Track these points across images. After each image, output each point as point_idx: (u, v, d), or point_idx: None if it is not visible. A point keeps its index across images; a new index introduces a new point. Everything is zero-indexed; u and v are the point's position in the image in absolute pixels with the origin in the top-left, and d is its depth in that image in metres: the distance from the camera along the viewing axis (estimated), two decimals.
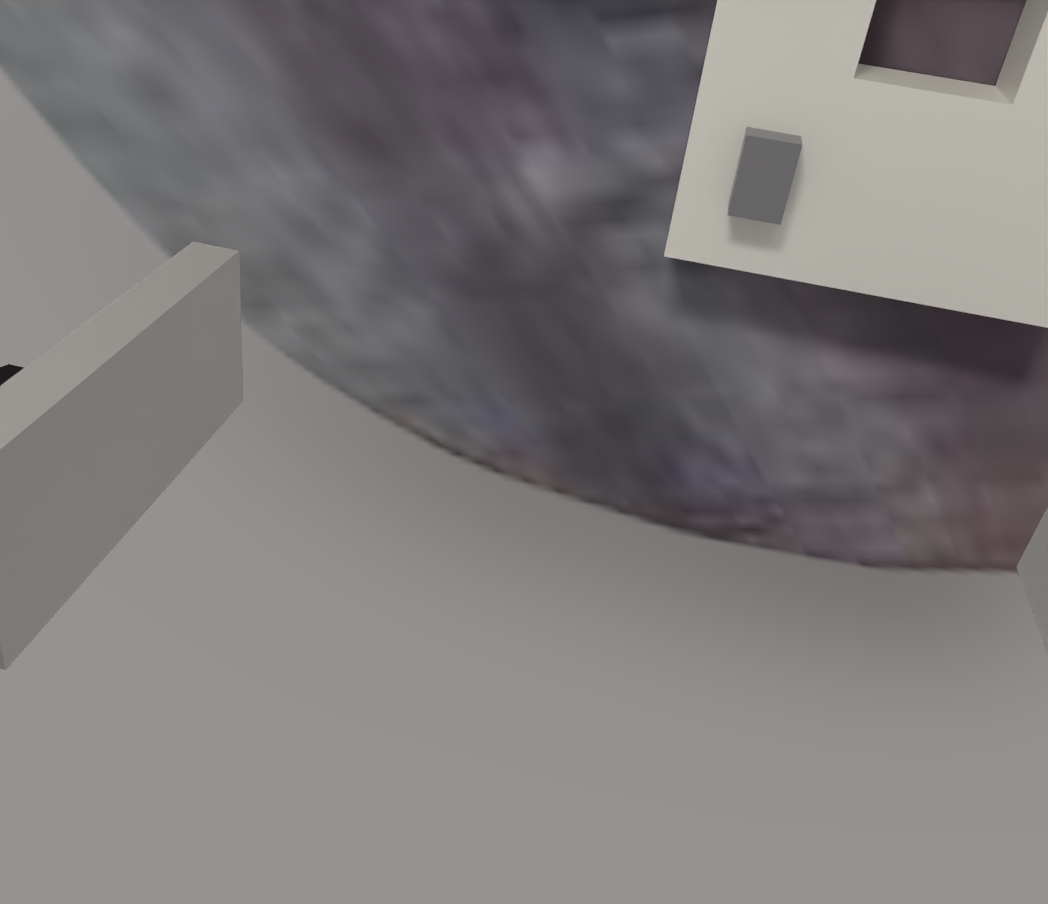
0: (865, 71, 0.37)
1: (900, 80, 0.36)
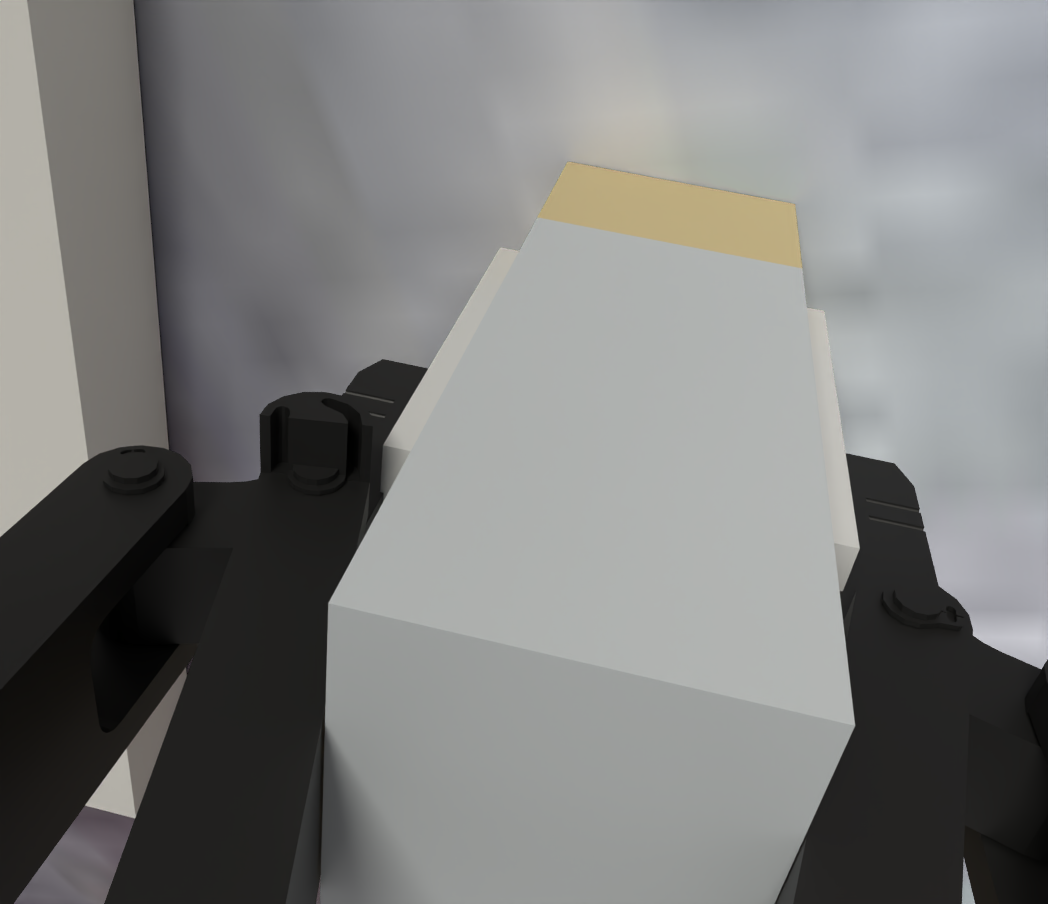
0: None
1: None
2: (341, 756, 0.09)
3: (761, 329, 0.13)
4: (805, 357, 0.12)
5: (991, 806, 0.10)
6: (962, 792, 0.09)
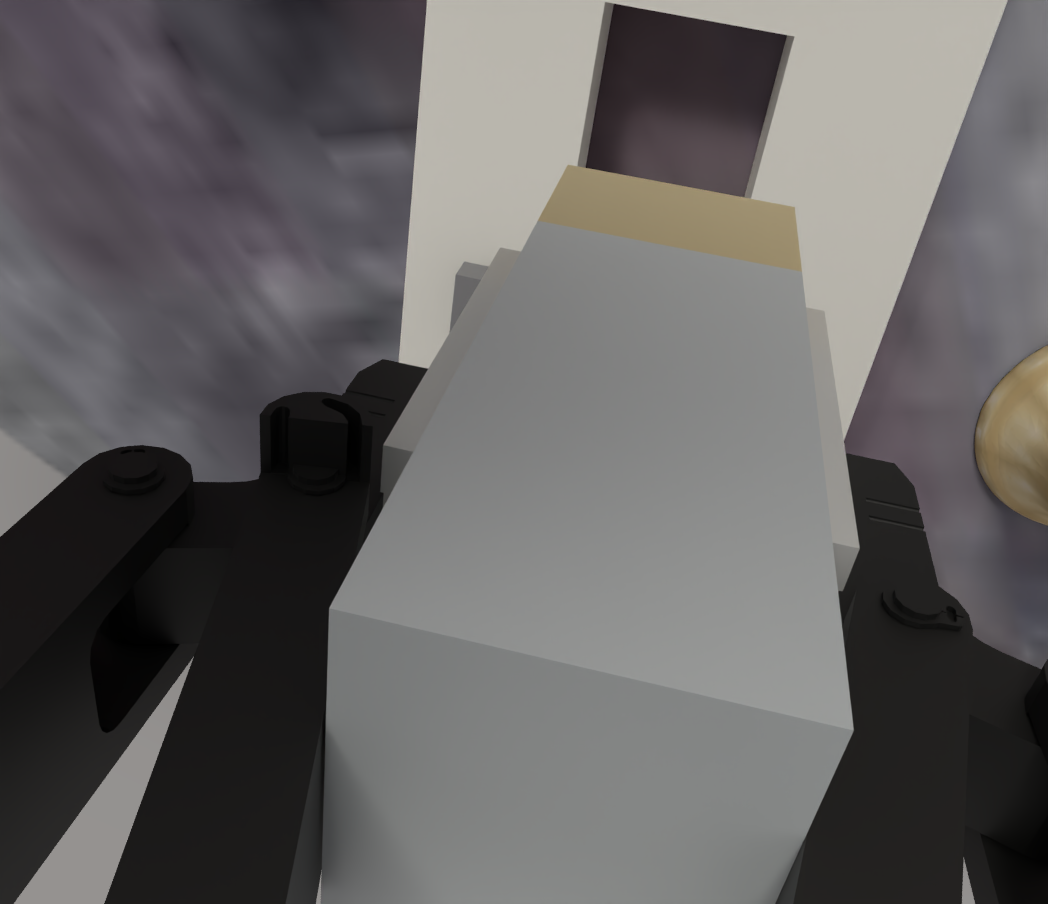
0: None
1: None
2: (340, 759, 0.09)
3: (761, 332, 0.13)
4: (805, 362, 0.12)
5: (991, 806, 0.10)
6: (962, 792, 0.09)
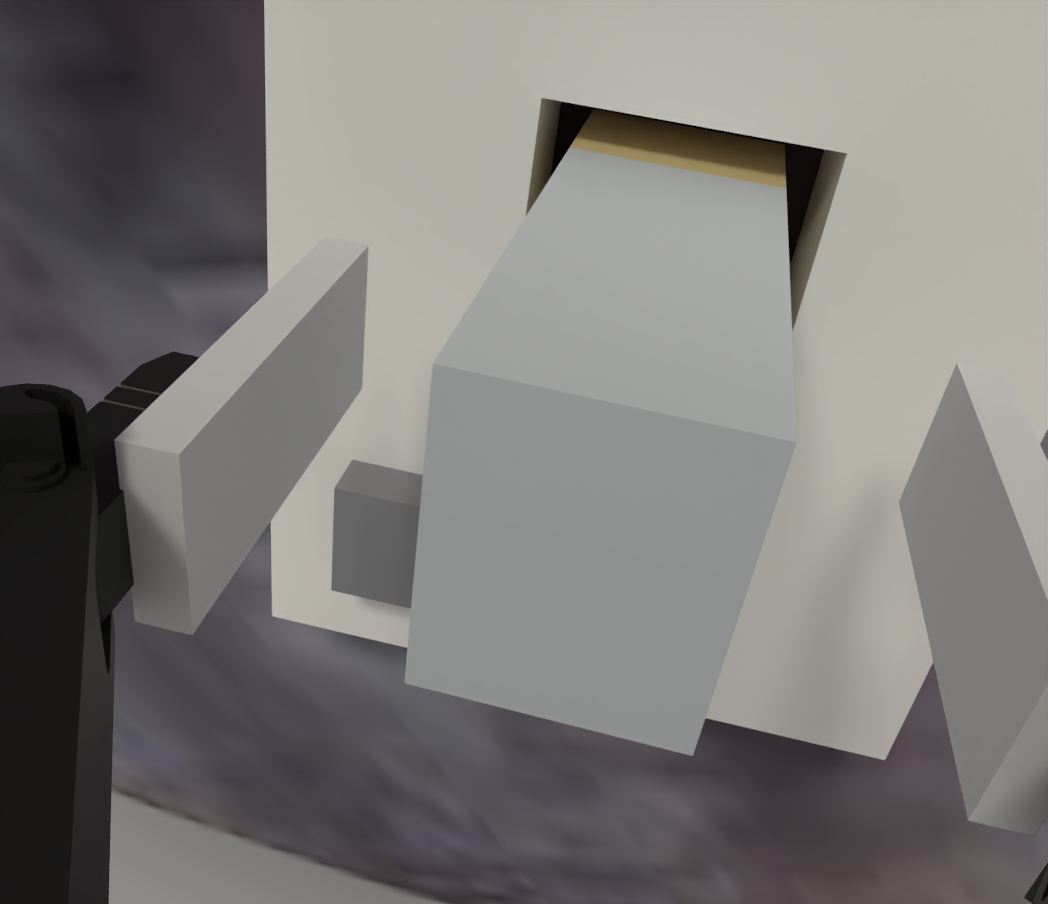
0: None
1: None
2: (433, 492, 0.12)
3: (749, 225, 0.16)
4: (783, 245, 0.16)
5: None
6: None
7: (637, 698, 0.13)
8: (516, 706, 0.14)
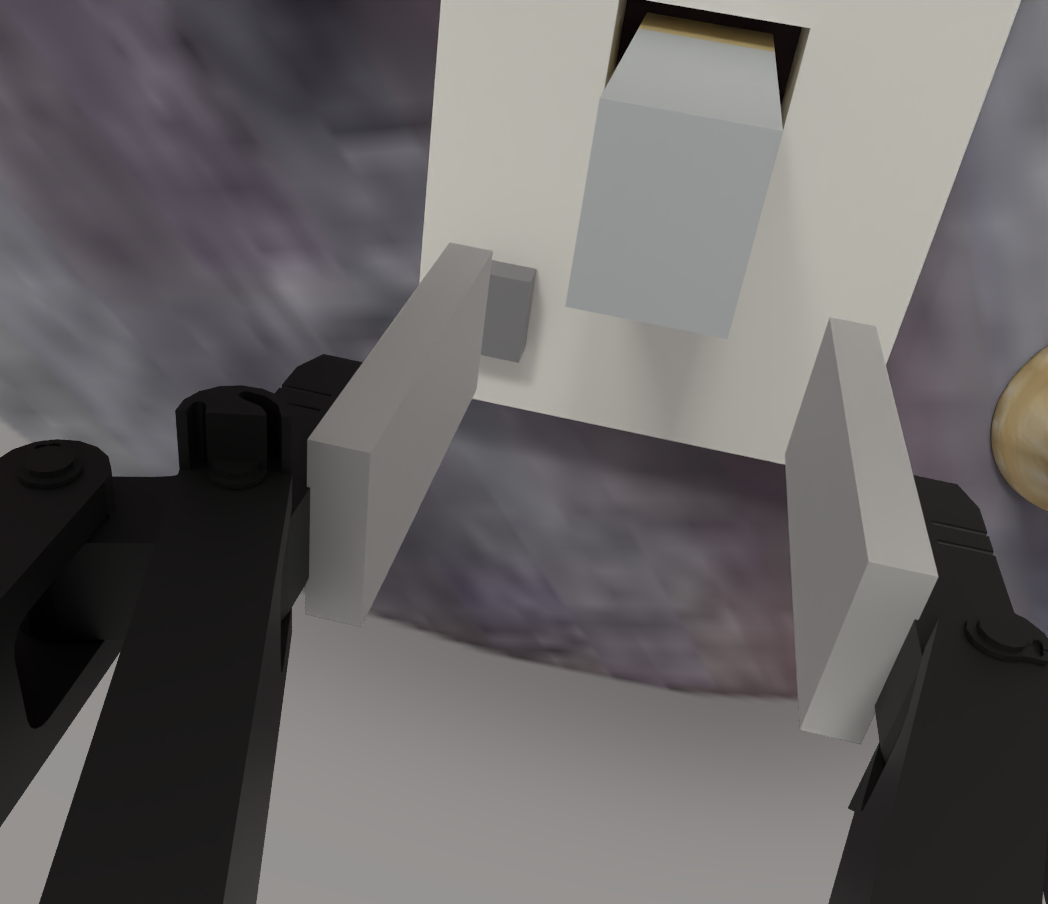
0: None
1: None
2: (593, 176, 0.23)
3: (753, 64, 0.27)
4: (773, 73, 0.26)
5: None
6: (1043, 830, 0.08)
7: (697, 302, 0.24)
8: (629, 315, 0.24)
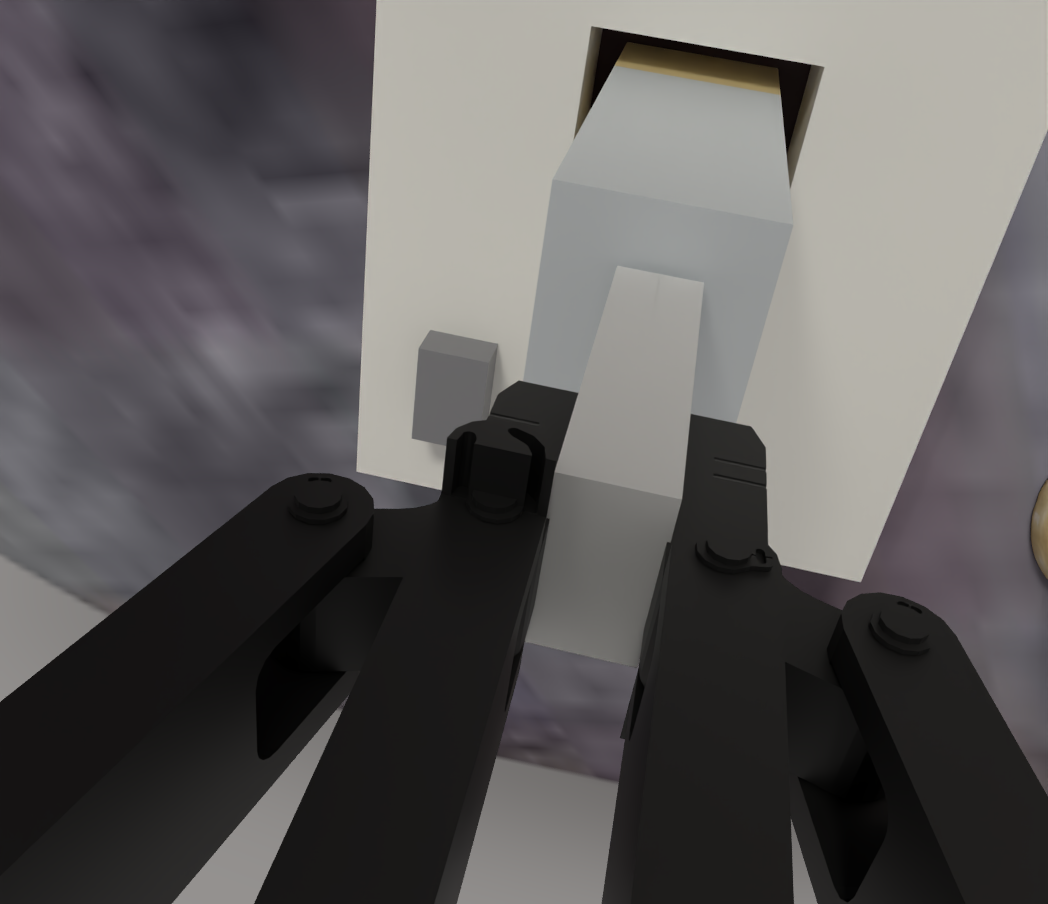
0: None
1: None
2: (546, 275, 0.18)
3: (754, 116, 0.22)
4: (779, 128, 0.21)
5: (797, 746, 0.11)
6: (783, 726, 0.09)
7: None
8: None
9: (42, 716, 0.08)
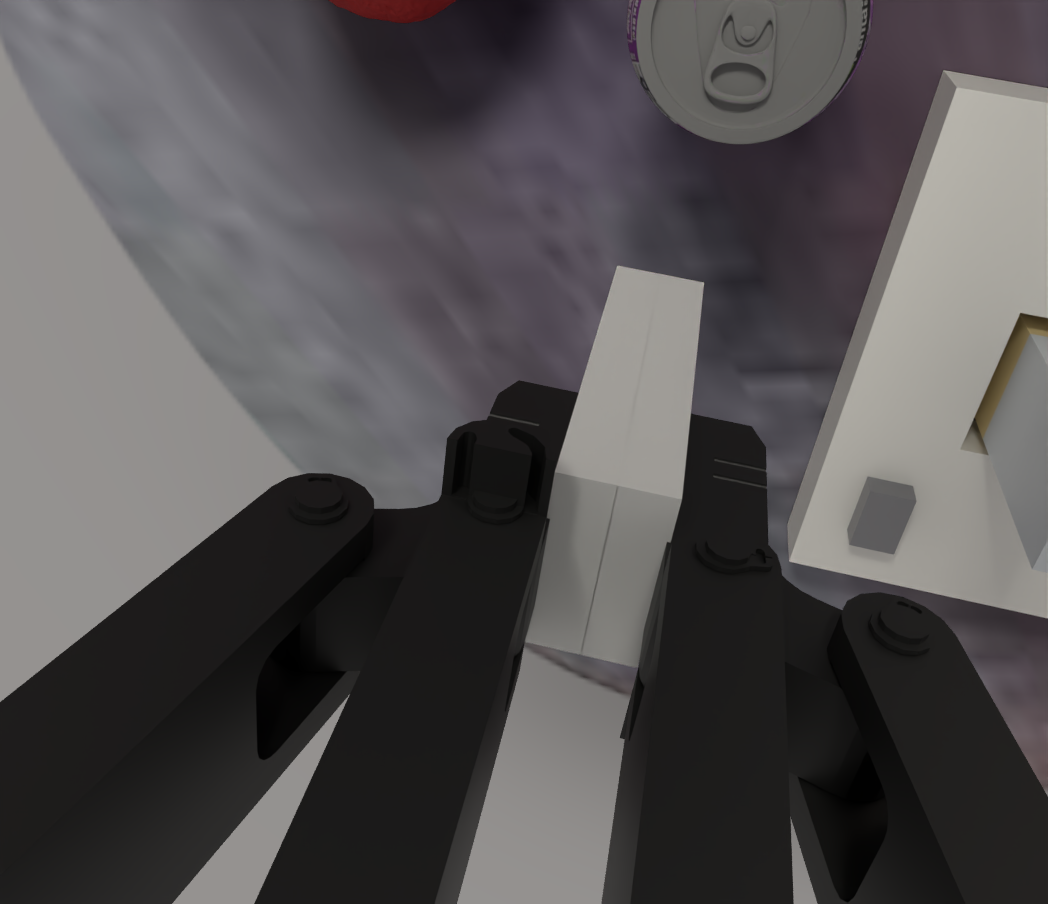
0: (966, 432, 0.44)
1: None
2: None
3: None
4: None
5: (798, 746, 0.11)
6: (783, 726, 0.09)
7: None
8: None
9: (42, 716, 0.08)
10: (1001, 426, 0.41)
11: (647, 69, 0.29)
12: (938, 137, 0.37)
